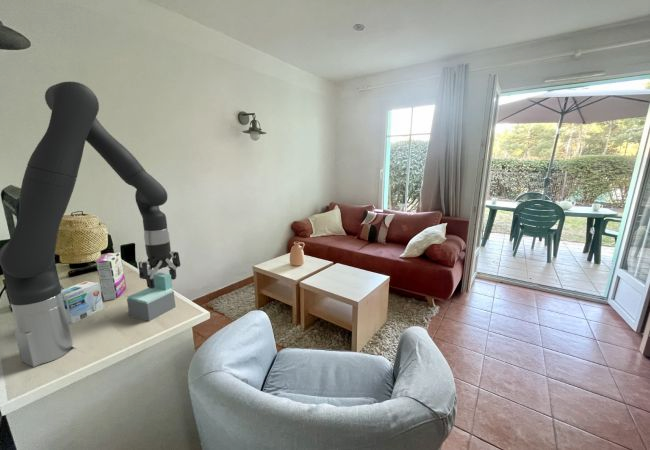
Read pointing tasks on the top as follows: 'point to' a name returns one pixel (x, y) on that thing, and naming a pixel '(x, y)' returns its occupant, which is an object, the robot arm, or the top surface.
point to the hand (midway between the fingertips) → (162, 283)
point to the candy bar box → (111, 276)
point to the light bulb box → (82, 300)
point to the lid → (154, 289)
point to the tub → (151, 307)
